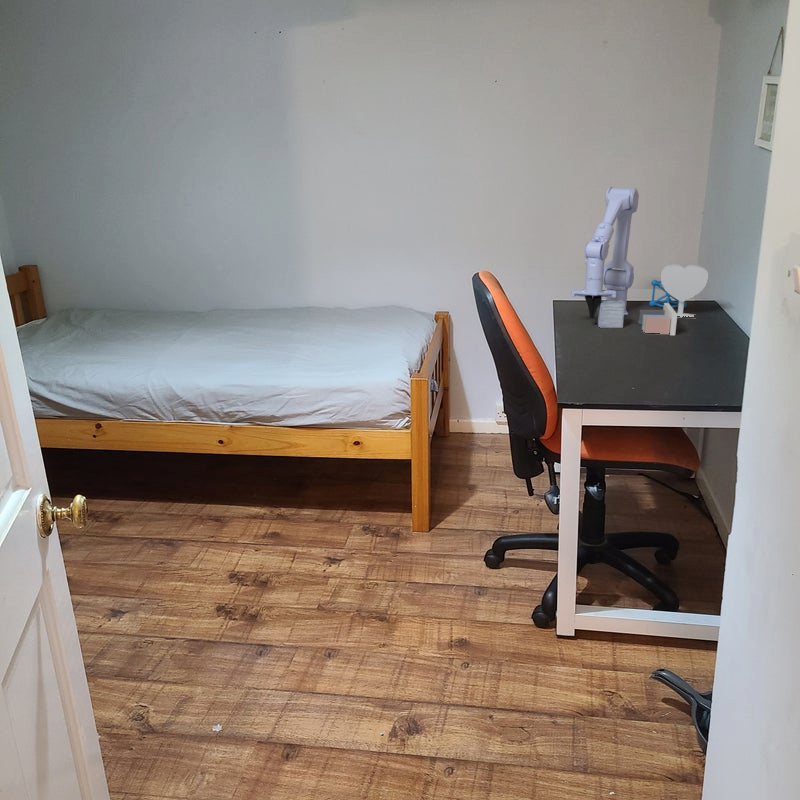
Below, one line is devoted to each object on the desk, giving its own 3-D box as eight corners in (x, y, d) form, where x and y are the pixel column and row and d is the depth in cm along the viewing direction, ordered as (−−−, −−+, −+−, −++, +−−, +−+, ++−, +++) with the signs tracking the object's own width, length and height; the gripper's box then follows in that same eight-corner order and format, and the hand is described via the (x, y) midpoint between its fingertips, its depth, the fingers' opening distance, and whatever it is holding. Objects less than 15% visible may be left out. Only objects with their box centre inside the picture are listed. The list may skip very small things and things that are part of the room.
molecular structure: (668, 302, 304) (670, 276, 301) (687, 308, 296) (690, 281, 292) (647, 306, 300) (650, 279, 297) (667, 311, 292) (670, 284, 288)
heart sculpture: (702, 315, 286) (708, 264, 280) (703, 318, 281) (709, 267, 275) (657, 312, 290) (661, 262, 284) (657, 316, 286) (661, 265, 279)
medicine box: (620, 325, 275) (622, 300, 272) (622, 328, 271) (625, 303, 268) (597, 324, 276) (599, 299, 273) (599, 328, 271) (600, 302, 269)
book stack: (637, 321, 278) (639, 301, 276) (665, 322, 277) (667, 302, 275) (644, 334, 263) (646, 313, 260) (675, 335, 261) (677, 314, 259)
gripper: (573, 280, 266) (570, 320, 270) (618, 280, 264) (615, 321, 268) (571, 275, 272) (569, 315, 277) (615, 276, 270) (612, 315, 275)
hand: (591, 317), depth 273 cm, fingers closed
